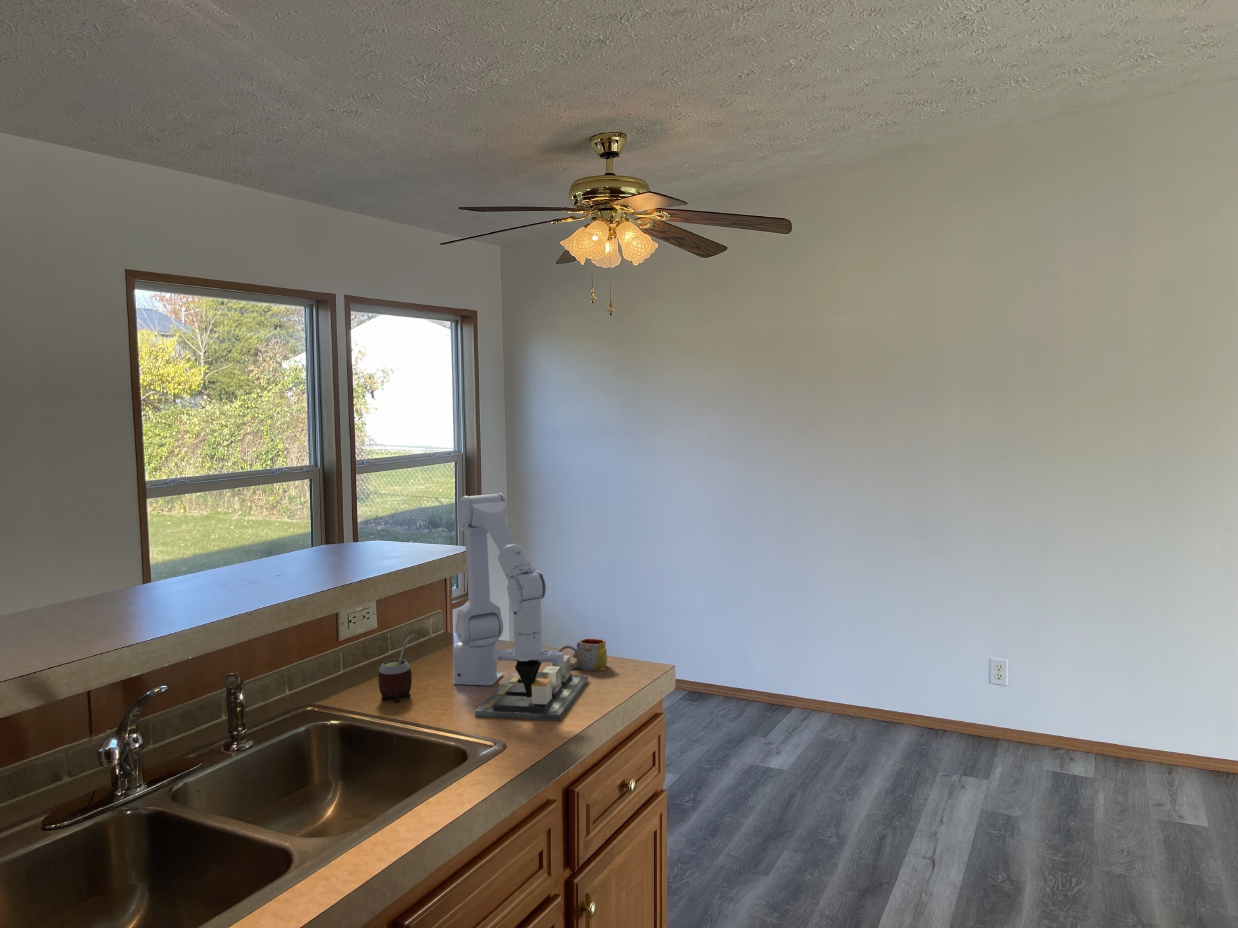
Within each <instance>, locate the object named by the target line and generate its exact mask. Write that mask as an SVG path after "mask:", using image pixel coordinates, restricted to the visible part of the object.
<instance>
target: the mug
mask: <svg viewBox="0 0 1238 928" xmlns="http://www.w3.org/2000/svg"><path fill="white" fill-rule="evenodd" d="M606 642H607V641H606V639H605V640H604V639H596V638H584V639H581V640H579V641H578V642H577V643H576V647H574V646H573V645H570V644H567V645H563V646H561V647H560V648H559V649H558V651H557V652H563V651H564V650H566V649H570V650H572V651H573V652H574V653H573V654H572V658H573V659H576V660H575V661H574V662H570V667H571V669H577V670H578V669H579V670H582V671H585V672H597V671H603V672H604V671H605V669H606V668H605V667H606V666H607V665H608V664H607V663H608V654H607V653H608V651H607V646H606V644H607V643H606Z"/></svg>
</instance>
